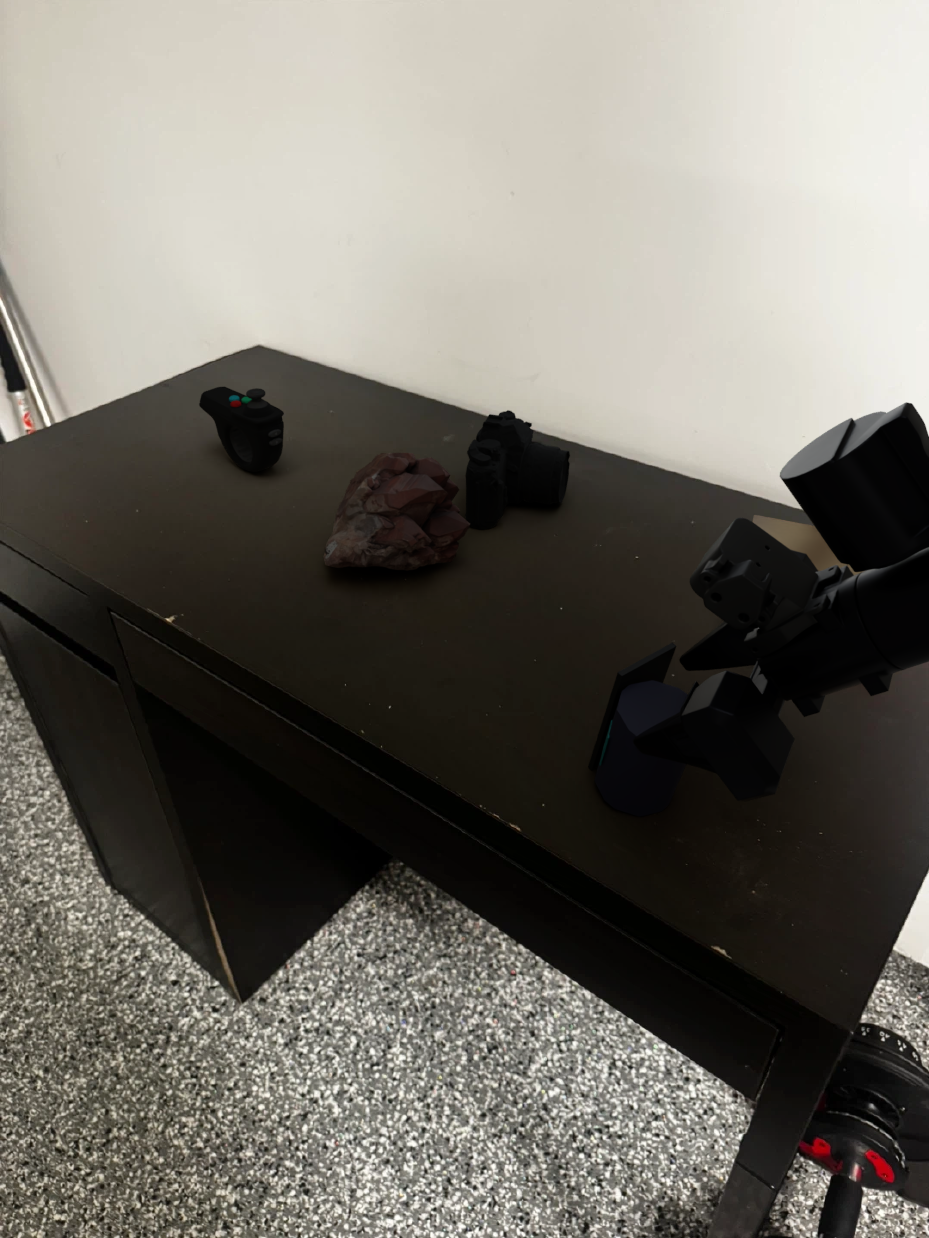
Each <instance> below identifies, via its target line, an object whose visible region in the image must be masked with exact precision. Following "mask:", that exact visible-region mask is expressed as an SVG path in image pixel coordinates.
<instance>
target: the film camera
mask: <svg viewBox="0 0 929 1238" xmlns="http://www.w3.org/2000/svg"><path fill="white" fill-rule="evenodd" d="M532 426H533V423H532V422H529V421H525V420H523V419H521V418H518V417H517V416H516V414H515V412H513V411H512V410H510V409H507V410H505V411H501V412H499V413H498V414H492V413H489V414H488V415H487V417H486V419H485V421H483V422H482V427H481V428H480V429H479V430H478V432H477V433H476V436H475V439H473V440H472V441H471V443H470V444H469V446H468V448H467V450H466V451H467V452H466V454H467V456H468V459H469V460H468V462H467V465H466V469H465V514H464V518H465V520H466V521H468V522H469V523H470V526H469V527H471V528H473V529H479V530H490V529H492V528H494V527H496V526H497V523H498V522H499V520H500V519H501V518H502V517H503V516H504V509H505V508H506V506H507V505H509V504H515V505H520V504H521V502H523V501H524V502H525V503H537V504H543V505H553V504H562V503H563V501H564V498H565V496H566V491H567V488H568V481H569V476H570V475H569V474H570V465H571V462H570V457H571V452H570V450H563V449H561V448H560V447H559V446H553V445H543V444H541V443H539V442H533V438H534V429H533V428H532Z"/></svg>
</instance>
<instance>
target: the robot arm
mask: <svg viewBox="0 0 929 1238" xmlns="http://www.w3.org/2000/svg"><path fill="white" fill-rule="evenodd" d="M779 478H780V479H781V481H782V482H783V483H784V485H785V487H786V488H787V489H788V491H789V492H790V493H791V495H792V497H793V498H794V499H795V501H796V502H797V504H798V505H799V507H800V508H801V510H802V511H803V513H804V514H805V515H806V516H807V518H808V520H809V521H810V522H811V525H812V526H815V528H816V529H817V531H818V532H819V534H820V535H821V537H822V538H823V539H824V541H825V542H826V544H827V545H828V547H829V548H830V549H831V551H832V552H833V554H834V555H835V557H836V558H837V559H838V561H839V562H840V563H843V564H847V565H850V566H851V568H852V569H853V571H854V572H861V573H859V574H857V575H853V573H852V572H851V570H850V569H849V567H848V566H847V565H846V566H844V567H841V568H839V566H838V565H834V566H831V567H829V568H827V569H825V570H822V571H818V570H817V568H816V567H815V565H814V564H813V562H812V561H811V560H810V558H809V557H808V555H807V554H805V553H801V552H798V551H794V550H790V549H789V548H788V547H786V546H785V545H784V544H782V543H781V542H779V541H778V540H777V539H775V538H774V537H773V536H771V535H770V534H768V533H767V532H766V531H764V530H763V529H762V528H760V527H759V526H757V525H756V524H755V523H753V522H752V521H753V520H750V519H748V518H745V517H736V518H735V519H734V520H733V521H732V522H731V523H730V525H729V526H728V527H727V528H726V529H725V530H724V532H723V533H722V534H721V535H720V536H719V537H718V538H717V539H716V540H715V542H714V543H713V544H712V545H711V546H710V548H708V550H707V551H706V552H705V553H704V554H703V556H702V559H701V560H700V562H699V564H698V565H697V567H696V568H695V570H694V571H693V572H692V573H691V575H690V577H689V585H690V588H691V589H692V592H694V593H695V594H696V595H697V596H698V597H699V598H701V599H702V601H703V602H702V603H703V606H704V608H706V609H707V610H708V611H709V612H710V613H712V614H713V615H715V616H717V617H718V618H720V620H722V622H721V623H720V624H719V625H717V626H716V627H715V628H714V629H712V630H711V631H710V632H709V633H707V634H706V635H705V636H704V637H702V639H700V640H699V641H697V642H696V643H695V644H694V645H693V646H691V647H690V648H689V649H688V650H687V651H685V652H684V653H683V654H681V656H679V659H678V661H679V663H680V665H681V666H682V667H683V669H684V670H686V671H687V672H697V671H699V672H700V671H715V670H723V669H731V668H732V669H733V668H741V667H753V669H752V670H751V672H750V675H749V676H745V675H743V674H739V673H737V672H734V671H731V670H723V671H720V672H718V673H716V674H712V675H710V676H709V677H708V678H707V679H706V680H704V681H702V683H700V684H699V682H698V681H696V680H695V681H694V683H693V684H692V686H691V688H690V691H689V692H688V693H687V694H688V696H687V697H686V699H685V701H684V703H683V705H682V707H681V710H680V712H679V713H677V714H675V715H673V716H671V717H670V718H668V719H666V720H664V721H662V722H660V723H658V724H656V725H654V726H653V727H651V728H649V729H647V730H646V731H644V732H642V733H641V734H639V735H637V736H636V737H635V738H634V740H633V743H634V745H635V746H636V747H637V748H638V750H639V751H640V752H641V753H643V754H646V755H650V756H655V757H659V758H663V759H667V760H671V761H675V762H679V763H684V764H686V765H687V766H688V765H689V766H692V767H695V768H699V769H702V770H705V771H707V772H711V773H713V774H715V775H717V776H718V777H719V778H720V780H721V781H722V782H723V784H724V785H725V786H726V788H727V789H728V790H729V792H730V793H731V794H732V796H733V797H734V798H735V800H736V801H737V802H750V801H754V800H758V799H761V798H766V797H770V796H774V795H776V793H777V791H778V787H779V785H780V782H781V780H782V776H783V774H784V771H785V768H786V766H787V763H788V760H789V757H790V754H791V751H792V748H793V745H794V741H795V739H796V738H795V737H794V735H793V734H792V733H791V731H790V730H789V728H788V727H787V726H786V725H785V723H784V722H783V720H782V719H781V718H780V715H781V713H782V710H783V708H784V704H785V703H786V702H789V701H792V703H793V704H794V705H795V707H796V708H797V710H798V711H799V712H800V714H801V715H802V716H803V718H806V717H809V716H813V715H815V714H819V713H821V710H822V707H823V704H824V702H825V698H826V696H827V695H828V696H829V695H831V694H834V693H837V692H841V691H843V690H847V689H849V688H852V687H855V686H859V685H862V686H863V687H864V689H865V690H866V692H867V693H868V694H869V696H870V697H873V696H878V695H880V694H884V693H886V692H889V691H890V687H891V683H892V678H893V674H896V673H899V672H901V671H905V670H907V669H910V668H913V667H916V666H921V665H922V664H925V663H929V432H928V429H927V426H926V423H925V421H924V419H923V418H922V416H921V415H920V413H919V411H918V410H917V408H916V406H915V405H914V404H913V403H911V402H904V403H902V404H900V405H898V406H897V407H894V408H893V409H891V410H889V411H875V412H872V413H869V414H866V415H863V416H861V417H858V418H856V419H854V418H853V417H850V418H848V419H846V420H843V421H842V422H840V423H838V424H837V425H835V426H833V427H832V428H830V429H828V430H826V431H825V432H824V433H822V434H821V435H819V436H818V437H816V438H815V439H813V440H812V441H811V442H809V443H808V444H806V445H805V446H804V447H802V448H801V449H800V450H799V451H798V452H797V453H796V454H794V455H793V456H792V457H791V458H790V459H789V460H788V461H787V462H786V463H785V465H783V467H782V468H781V470H780V472H779ZM862 571H864V572H862Z"/></svg>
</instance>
